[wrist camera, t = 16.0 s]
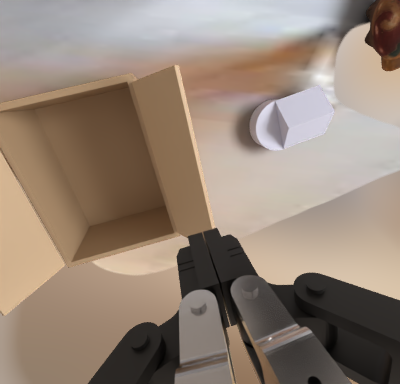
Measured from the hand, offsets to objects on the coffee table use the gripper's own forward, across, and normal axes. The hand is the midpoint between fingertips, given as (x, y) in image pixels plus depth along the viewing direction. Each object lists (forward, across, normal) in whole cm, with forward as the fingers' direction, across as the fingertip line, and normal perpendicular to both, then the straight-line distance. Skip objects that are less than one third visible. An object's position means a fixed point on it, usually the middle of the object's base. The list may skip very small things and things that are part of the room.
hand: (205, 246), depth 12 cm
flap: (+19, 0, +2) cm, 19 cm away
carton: (+35, +12, +2) cm, 37 cm away
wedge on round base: (+35, -22, +2) cm, 42 cm away
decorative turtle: (+35, -42, -10) cm, 56 cm away
